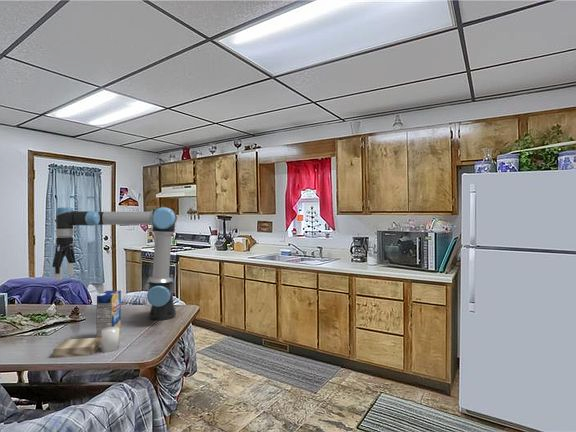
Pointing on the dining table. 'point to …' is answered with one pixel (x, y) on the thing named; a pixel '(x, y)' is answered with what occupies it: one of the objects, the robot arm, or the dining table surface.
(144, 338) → the dining table surface
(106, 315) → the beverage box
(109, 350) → the white rounded cylinder
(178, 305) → the dining table surface
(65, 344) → the maple block
